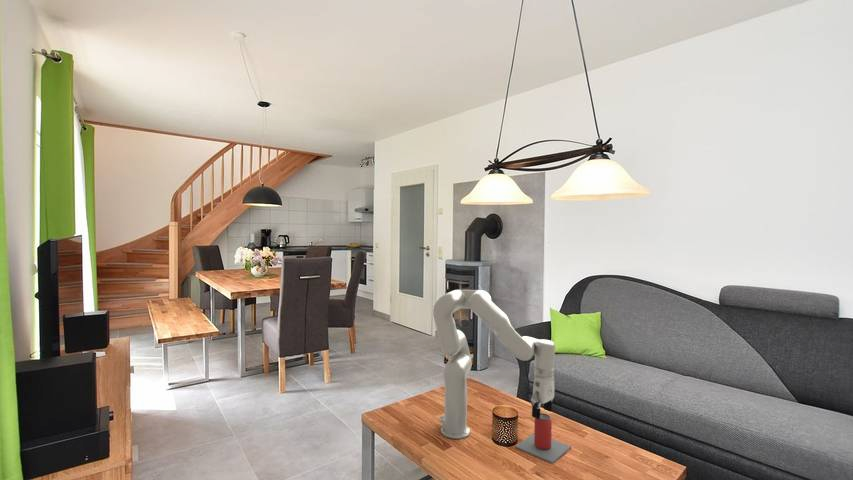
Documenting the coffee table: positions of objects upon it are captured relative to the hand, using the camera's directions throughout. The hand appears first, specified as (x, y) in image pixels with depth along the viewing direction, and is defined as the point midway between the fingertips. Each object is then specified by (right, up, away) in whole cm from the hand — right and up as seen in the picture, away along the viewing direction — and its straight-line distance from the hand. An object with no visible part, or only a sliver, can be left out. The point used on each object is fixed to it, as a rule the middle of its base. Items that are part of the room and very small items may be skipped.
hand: (541, 414), depth 161 cm
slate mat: (0, -13, 0) cm, 13 cm away
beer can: (0, -13, 0) cm, 13 cm away
